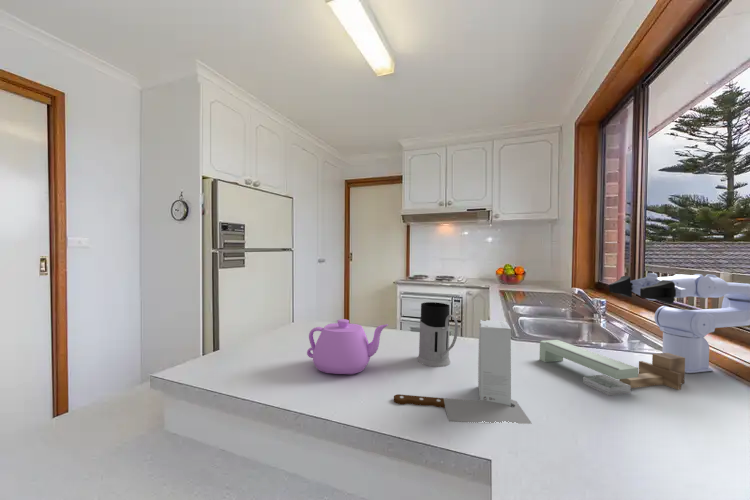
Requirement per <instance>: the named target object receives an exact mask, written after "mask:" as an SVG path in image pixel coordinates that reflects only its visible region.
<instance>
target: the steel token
mask: <svg viewBox="0 0 750 500" xmlns="http://www.w3.org/2000/svg"><path fill="white" fill-rule="evenodd" d="M582 384H583V385H585V386H588V387H589V388H592V389H594V390H596V391H598V392H600V393H603V394H605V395H607V396H609V397H610V396H617V395H626V394H631V391H632V388H631V386H630V385H628V384H625V383H623V382H620V381H619V379H614V378H612V377H609V376H607V375H605V374H597V375H588V376H585V375H584V376H582Z"/></svg>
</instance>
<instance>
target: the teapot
mask: <svg viewBox="0 0 750 500" xmlns="http://www.w3.org/2000/svg"><path fill="white" fill-rule="evenodd" d="M336 321H337V322H335V323H333V322H332V323H328V324H327V325H325V326H324V327H322V326H316V327H314V328H312V329H311V330H310V331H309V333H308V340H309V341H308V342H309V343H310V347H309V348H308V349H307V351H306V355H307V357H308V358H310V359H312V363H313V365H314V366H315V367H316V369H317V370H318V371H320V372H323V373H325V374H336V375H351V376H353V375H355V374H358V373H361V372H362V371H364V370H365V369H366V367H367V366H368V364H369V362H370V359H371V357H372V356H374V355H375V354H376V353H377V352H378V350H379V345H380V339H381V335H382V334H381V333H382V331H383V330H384V329H385V328H386V327H388V326H389V324H387V323H386V324H381V325H378V326H376V328H375V329H374V333H373V338H372V341H371V342H370V343H369V339H368V337H367V335H366V334H367V333H366V332H365V330H364V328H363V326H362V325H361V324H356V323H350V320H349V319H346V318H343V319H341V318H340V319H338V320H336ZM315 332H320V334H319V336H318V338H317V340H316V342H315V339H314V333H315ZM311 351H312V352H311Z"/></svg>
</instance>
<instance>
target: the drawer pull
mask: <svg viewBox="0 0 750 500" xmlns="http://www.w3.org/2000/svg"><path fill="white" fill-rule="evenodd" d="M564 359H566V360H569V361H570V362H573V363H575V364H578V365H581V366H583V367H584V368H587V369H590V370H591V371H595V372H598V373H599V374H601V375H606V376H608V377H611V378H613V379H616V380H620V379H626V378H636V377H638V374H639V367H637V366H634V365H632V364H631V365H630V364H628V363H625V362H622V361H619V360H616V359H613V358H611V357H608V356H605V355H603V354H599V353H596V352H594V351H591V350H588V349H584V348H582V347H579V346H576V345H573V344H571V343H568V342H565V341H562V340H559V339H550V340H548V339H547V340H539V360H540V361H542V362H543V363H550V362H562V361H564Z"/></svg>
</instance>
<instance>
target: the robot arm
mask: <svg viewBox="0 0 750 500" xmlns="http://www.w3.org/2000/svg"><path fill="white" fill-rule="evenodd" d="M608 285H609V286H608V287H609V289H608V292H609V293H612V294H619V295H621V296H622V297H627V298H632V297H633V296H632V295H633V293H634V294H636V295H638V296H639V297H640V298H643V299H646V300H648V301H659V302H661V303H662V304H668V305H669V304H670V305H671V304H673V303H674V301H675V298H676V299H677V298H679V299H683V298H688V297H694V298H704V299H708V298H713V299H714V298H715V299H717V298H718V299H719V298H722V297H723V300H722V301H721V302H722V303H721V308H708V309H707V308H705V309H682V308H677V307H669V306H667V305H666V306H665V305H663V306H660V307H658V308H657V309H656V311H655V313H654V315H653V316H654V317H653V319H654V322H655V324H656V325H657V327H659V331H661V332H662V353H670V354H674V355H677V356H681V357H684V358H685V374H694V373H695V374H696V373H705V372H712V371H714V369H713V368H711V367H710V365H709V364H710V363H709V362H710V344H709V342H708V340H707V339H706V338H705V337H706V336H707V335H709V334H711V333H715V330H716V329H718V328H732V327H744V326H750V283H746V282H745V283H743V282H741V283H740V282H727V281H726V280H724V279H723V278H721V277H718V276H717V275H716V274H706V275H705V276H704V275H703V274H700V273H694V274H693V275H692V274H691V275H690V274H681V273H680V274H678V273H676V274H674V275H672V276H671V275H669V276H659V277H658V274H657V273H656V272H655V273H653V272H647V274H646V276H645V277H641V278H637V279H633V280H631V276H629V275H623V276H621V277H620V278H619V279H618V280H616V281H614V282H611V283H609V284H608Z"/></svg>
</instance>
